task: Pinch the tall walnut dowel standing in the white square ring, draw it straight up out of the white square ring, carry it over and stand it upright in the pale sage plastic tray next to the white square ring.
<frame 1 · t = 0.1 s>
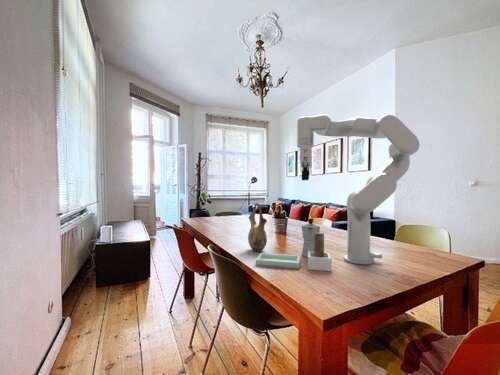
hand: (305, 180, 117), 37 cm above the table, tool pointing down, fingers open, 9 cm apart
dowel: (319, 250, 104), in the white square ring
coffee maker: (310, 255, 121), on the table
ceramic vessel: (257, 251, 129), on the table
tray: (278, 263, 108), on the table
white square ring: (318, 266, 104), on the table
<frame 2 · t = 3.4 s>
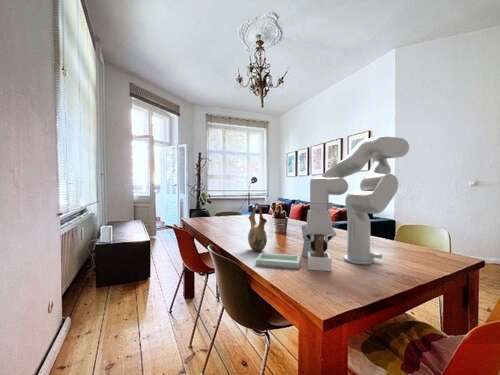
hand: (318, 250, 104), 7 cm above the table, tool pointing down, fingers closed on dowel, 4 cm apart
dowel: (319, 250, 104), in the white square ring, touching gripper
everything else where it was.
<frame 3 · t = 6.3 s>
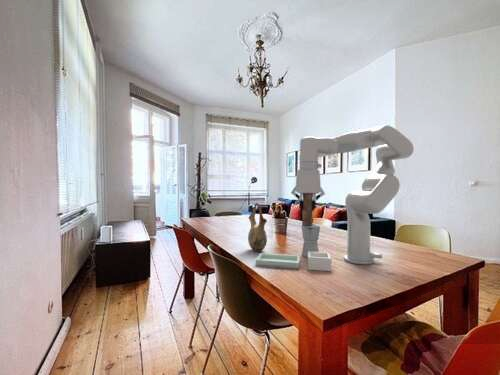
hand: (307, 209, 104), 24 cm above the table, tool pointing down, fingers closed on dowel, 4 cm apart
dowel: (307, 209, 104), point 24 cm above the table, touching gripper
everything else where it was.
when the fingers open (9 cm above the table, at t = 9.3 s): dowel stays where it is, resting on tray.
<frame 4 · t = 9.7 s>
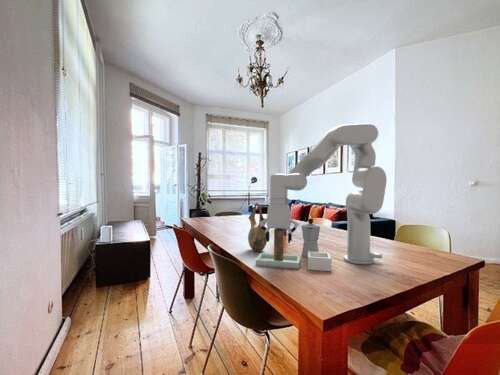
hand: (278, 241, 108), 9 cm above the table, tool pointing down, fingers open, 8 cm apart
dowel: (278, 245, 108), in the tray, point 8 cm above the table
everything else where it was.
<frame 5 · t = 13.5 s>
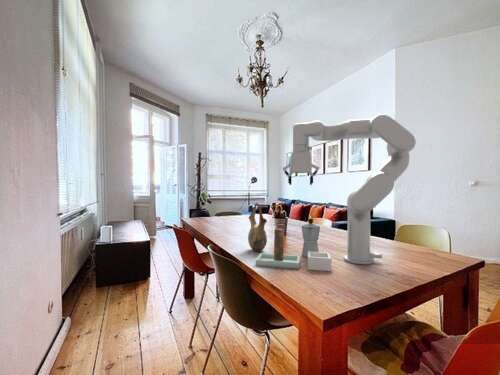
hand: (300, 184, 120), 34 cm above the table, tool pointing down, fingers open, 9 cm apart
nothing on the table moved.
at the end: dowel inside the target area on the tray (0.0 cm from its centre), point 7.8 cm above the tray's base; dowel tilted 1°; the gripper is holding nothing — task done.
